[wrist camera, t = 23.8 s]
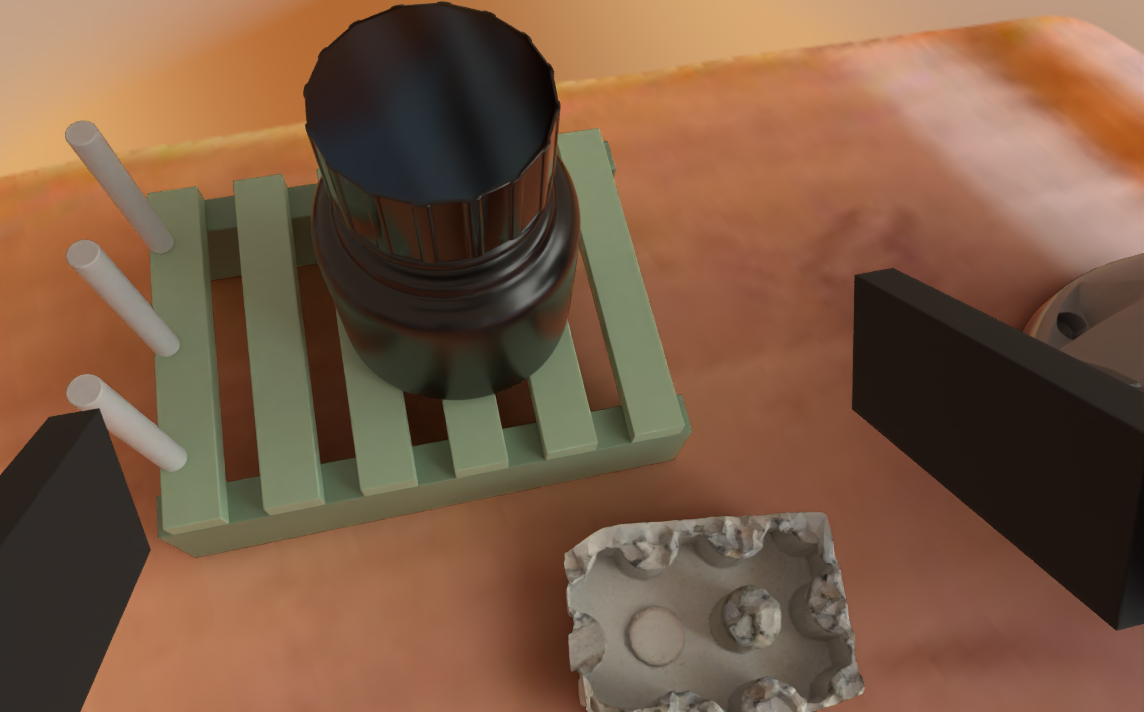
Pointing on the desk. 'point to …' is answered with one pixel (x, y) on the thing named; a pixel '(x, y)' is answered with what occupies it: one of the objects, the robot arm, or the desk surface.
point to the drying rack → (349, 370)
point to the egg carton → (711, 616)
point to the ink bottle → (442, 199)
